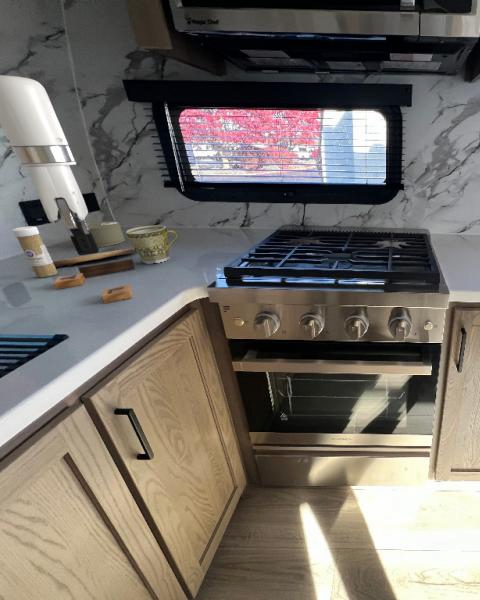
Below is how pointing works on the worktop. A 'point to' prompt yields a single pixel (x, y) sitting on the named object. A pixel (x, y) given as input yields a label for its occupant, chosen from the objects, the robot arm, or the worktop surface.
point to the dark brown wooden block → (106, 268)
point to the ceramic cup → (151, 243)
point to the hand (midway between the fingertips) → (89, 253)
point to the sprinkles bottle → (35, 251)
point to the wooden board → (91, 257)
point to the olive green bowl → (106, 233)
